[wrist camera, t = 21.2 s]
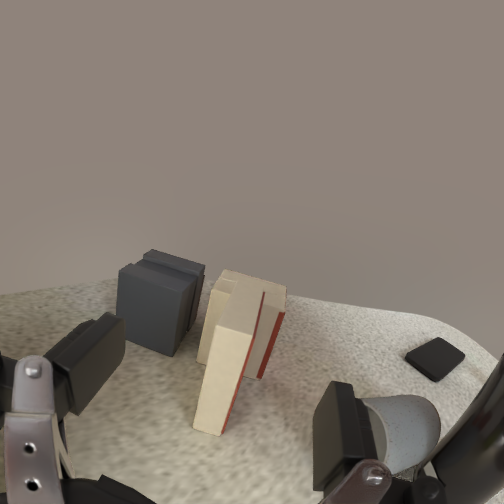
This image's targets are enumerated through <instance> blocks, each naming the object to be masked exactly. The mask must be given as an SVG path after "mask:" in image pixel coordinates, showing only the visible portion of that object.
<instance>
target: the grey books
mask: <svg viewBox="0 0 504 504" xmlns="http://www.w3.org/2000/svg"><path fill="white" fill-rule="evenodd" d="M204 270H205V265H203V264H199V263H196V262H193V261H189V260H186V259H183V258H179V257H176V256H173V255H170V254H167V253H163V252H160V251H157V250H154V249H152V250H150V251H149V252H147V253H145V254H144V255H143V259H142V260H140V261H139V262H137V263H136V264H131V263H130V264H128V265H127V266H125V267H124V268H122V269H121V270H119V276H118V289H117V306H116V316H119V317H121V318H124V319H125V322H126V330H125V339H126V340H129V341H131V342H134V343H136V344H139V345H141V346H144V347H146V348H149V349H151V350H154V351H157V352H159V353H162V354H165V355H167V356H170V357H173V355H174V354H175V352H176V350H177V349H178V347H179V345H180V342H181V341H182V339H183V337H184V336H185V334H186V332H187V331H189V329H190V327H191V326H192V324H193V323H194V321H195V320H196V316H197V311H198V306H199V301H200V296H201V291H202V287H203V282H204V276H205V275H204Z"/></svg>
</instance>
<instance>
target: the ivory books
mask: <svg viewBox="0 0 504 504" xmlns="http://www.w3.org/2000/svg"><path fill="white" fill-rule="evenodd" d="M237 280H239V281H243V282H246V283H250V284H253V285H257V286H260V287H263V288H264V291H263V292H265V296H264V301H263V306H262V310H261V315H260V319H259V324H258V328H257V333H256V337H255V341H254V344H253V347H252V350H251V353H250V356H249V359H248V362H247V365H246V368H245V371H244V374H243V376H244V377H248V378H251V379H255V380H260V379H261V378H262V376H263V373H264V370H265V368H266V365H267V362H268V360H269V357H270V354H271V351H272V349H273V346H274V343H275V340H276V338H277V335H278V332H279V329H280V326H281V324H282V321H283V318H284V315H285V307H286V286H284V285H280V284H277V283H273V282H270V281H266V280H263V279H259V278H256V277H252V276H249V275H245V274H242V273H238V272H235V271H232V270H228V269H224V271H223V272H222V274H221V276H220V277H219V279H218V280H217V282H216V283H215V285H214V286H213V288H212V290H211V294H210V299H209V303H208V308H207V312H206V317H205V322H204V326H203V331H202V336H201V341H200V345H199V350H198V355H197V360H196V362H198V363H201V364H204V365H207V361H208V357H209V352H210V348H211V344H212V340H213V336H214V331H215V327H216V324H217V322H218V320H219V318H220V316H221V314H222V312H223V309H224V307H225V305H226V303H227V301H228V299H229V297H230V295H231V293H232V290H233V288H234V286H235V284H236V282H237Z"/></svg>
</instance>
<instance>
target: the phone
mask: <svg viewBox="0 0 504 504" xmlns="http://www.w3.org/2000/svg"><path fill="white" fill-rule="evenodd" d="M464 358H465V354H464V353H463V352H461V351H460V350H459V349H457V348H456V347H454V346H453V345H451V344H450V343H448V342H447V341H445V340H444V339H442V338H440V337H437V338H435V339H433V340H431V341H429V342H428V343H426V344H424V345H422V346H420V347H418V348H416V349H414V350H412V351H410V352H408V353H407V354H406V356H405V359H406V360H407V361H408V362H409V363H410V364H412V365H413V366H414V367H416V368H417V369H418V370H420V371H421V372H422V373H424V374H425V375H426V376H428V377H429V378H430V379H432V380H433V381H440V380H441V379H443V378H444V377H445V376H446V375H447V374H448V373H449V372H451V371H452V370H453V369H454V368H455V367H456V366H457V365H458V364H459V363H460V362H462V361H463V360H464Z"/></svg>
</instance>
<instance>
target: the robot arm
mask: <svg viewBox="0 0 504 504" xmlns="http://www.w3.org/2000/svg"><path fill="white" fill-rule="evenodd" d="M125 330H126V322H125V319H124V318H121V317H119V316H116V315H114V314H111V313H109V312H106V313H104V314H103V315H102V316H101V317H100V318H99V319H98V320H93V319H91V320H88V321H86V322H83V323H81V324H79V325H78V326H77V327H76V328H75V329H74V330H73V331H71V332H70V333H69V334H68V335H66V337H64V338H63V339H62V340H61V341H60V342H58V343H57V344H56V345H55V346H54V347H53V348H51V349H50V350H49V351H48V352H47V353H46V354H45V355H43V356H38V355H29V356H26V357H23V358H22V359H20V360H19V361H17V360H14V359H11V358H8V357H5V356H2V355H1V351H0V430H1V428H2V427H3V426H4V465H5V481H6V492H5V493H0V504H156V503H155V502H153V501H152V500H150V499H149V498H147V497H145V496H144V495H142V494H141V493H139V492H138V491H136V490H135V489H133V488H131V487H129V486H126V485H124V484H122V483H120V482H117V481H115V480H113V479H111V478H109V477H107V476H105V475H103V474H102V475H101V477H100V478H99V480H98V481H97V480H92V479H85V478H76V476H75V473H74V469H73V466H72V462H71V458H70V452H69V446H68V439H67V432H66V424H65V418H64V416H65V415H66V414H67V413H68V411H70V412H71V413H73V414H75V415H77V416H79V415H80V414H81V412H82V411H83V410H84V409H85V407H86V406H87V405H88V403H89V402H90V401H91V400H92V398H93V397H94V396H95V395H96V393H97V392H98V391H99V390H100V388H101V387H102V386H103V385H104V383H105V382H106V381H107V380H108V378H109V377H110V376H111V375H112V373H113V372H114V371H115V370H116V368H117V367H118V366H119V365H120V363H121V361H122V359H123V357H124V353H125ZM371 428H372V426H371V422H370V417H369V413H368V409H367V407H366V406H365V404H364V403H363V402H362V400H361V399H358V398H355V396H354V391H353V387H352V385H351V384H348V383H342V382H337V381H331V382H330V384H329V386H328V388H327V389H326V391H325V393H324V395H323V397H322V399H321V400H320V402H319V404H318V406H317V408H316V410H315V413H314V416H313V491H323V492H324V498H323V499H322V500H321V501H320V502H319V503H318V504H485V503H486V502H487V501H488V500H490V499H491V498H492V497H493V496H494V495H496V494H497V493H498V492H499V491H500V490H502V489H503V488H504V353H503V355H502V357H501V359H500V360H499V362H498V363H497V365H496V367H495V368H494V370H493V372H492V373H491V375H490V376H489V378H488V379H487V381H486V382H485V384H484V385H483V387H482V388H481V390H480V391H479V393H478V394H477V396H476V397H475V398H474V400H473V401H472V403H471V404H470V405H469V407H468V408H467V409H466V411H465V412H464V413H463V415H462V416H461V417H460V418H459V420H458V421H457V422H456V423H455V425H454V426H453V427H452V428H451V429H450V431H449V432H448V433H447V434H446V435H445V437H444V438H443V439H442V440H441V441H440V442H439V443H438V444H437V446H436V447H435V448H434V450H433V451H432V452H431V454H430V455H429V456H428V457H426V458H425V459H424V460H422V461H421V462H420V463H419V464H418V465H417V467H416V469H415V472H414V482H413V483H412V482H409V481H405V480H401V479H398V478H395V477H393V476H392V473H391V471H390V469H389V468H388V467H387V466H386V465H385V464H384V463H382V462H381V461H379V460H378V456H377V450H376V445H375V441H374V436H373V431H372V430H371Z"/></svg>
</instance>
